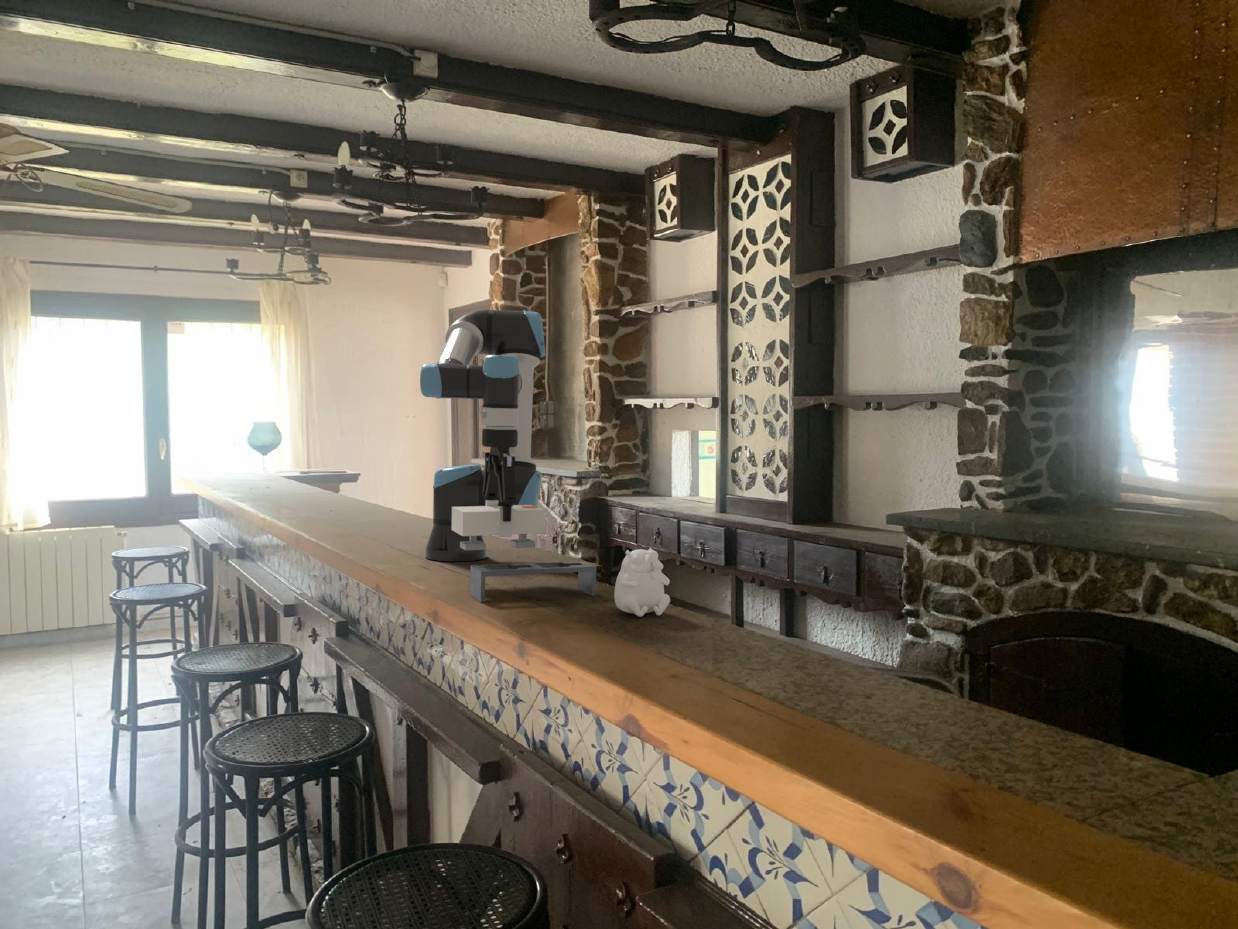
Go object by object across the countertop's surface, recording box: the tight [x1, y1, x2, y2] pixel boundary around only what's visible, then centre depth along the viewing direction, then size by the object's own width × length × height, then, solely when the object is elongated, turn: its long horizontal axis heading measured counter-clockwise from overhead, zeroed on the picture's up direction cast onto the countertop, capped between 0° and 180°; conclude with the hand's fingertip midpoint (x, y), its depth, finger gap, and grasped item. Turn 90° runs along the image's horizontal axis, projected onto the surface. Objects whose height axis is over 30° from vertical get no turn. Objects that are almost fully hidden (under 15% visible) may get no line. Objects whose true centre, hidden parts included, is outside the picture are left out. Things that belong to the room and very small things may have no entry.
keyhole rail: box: [469, 560, 597, 603], centre depth 186 cm, size 8×24×6 cm, turn 115°
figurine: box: [613, 547, 671, 618], centre depth 171 cm, size 10×10×12 cm
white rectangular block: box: [452, 505, 546, 551], centre depth 198 cm, size 9×18×9 cm, turn 115°
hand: (498, 533), depth 198 cm, fingers closed on white rectangular block, 9 cm apart
